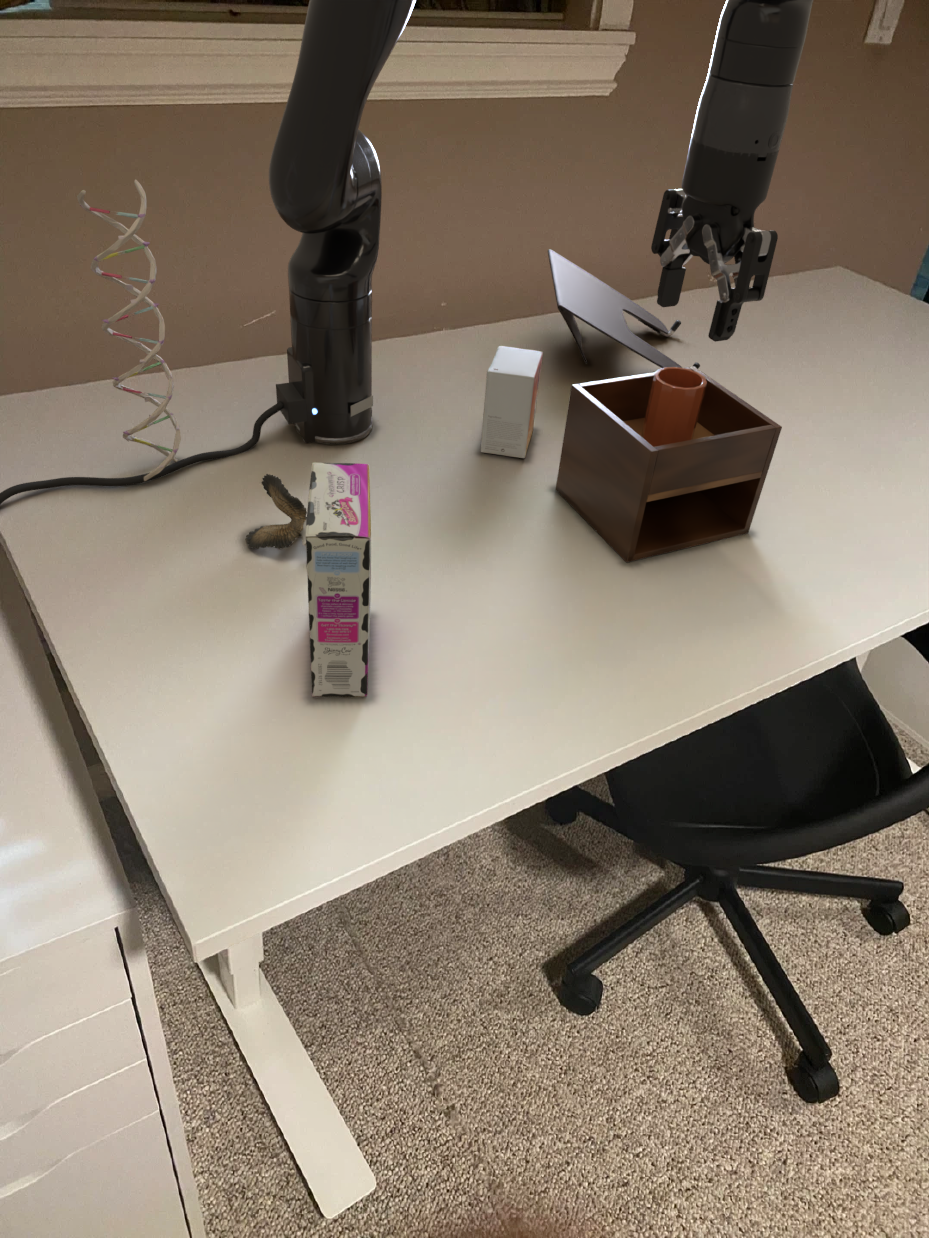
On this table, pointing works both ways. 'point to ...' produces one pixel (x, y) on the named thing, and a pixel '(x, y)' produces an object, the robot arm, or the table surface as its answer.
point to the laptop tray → (603, 310)
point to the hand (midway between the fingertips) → (692, 322)
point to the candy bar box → (339, 578)
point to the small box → (510, 401)
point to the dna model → (134, 303)
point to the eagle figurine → (280, 533)
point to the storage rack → (662, 468)
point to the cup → (673, 406)
